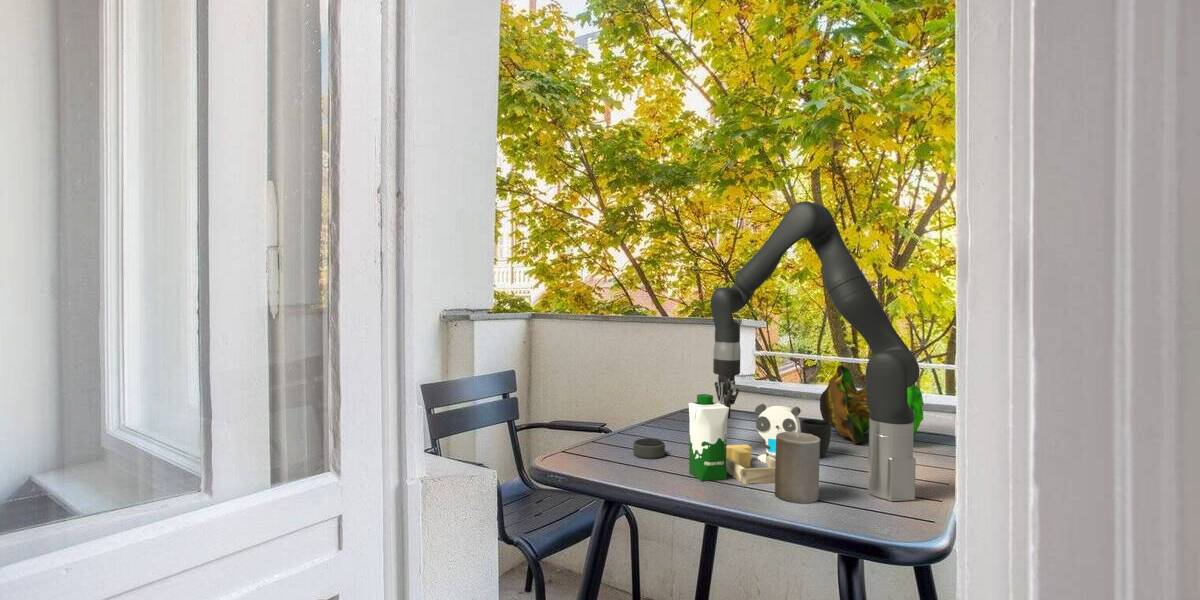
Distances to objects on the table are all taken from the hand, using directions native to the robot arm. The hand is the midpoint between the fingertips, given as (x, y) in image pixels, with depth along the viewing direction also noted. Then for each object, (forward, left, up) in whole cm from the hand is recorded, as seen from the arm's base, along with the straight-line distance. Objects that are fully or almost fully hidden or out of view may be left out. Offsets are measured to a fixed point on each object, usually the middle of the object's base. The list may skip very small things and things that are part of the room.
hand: (725, 417), depth 173 cm
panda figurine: (-8, -12, -11) cm, 18 cm away
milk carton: (-19, +12, -11) cm, 25 cm away
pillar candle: (-36, -3, -11) cm, 38 cm away
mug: (-3, -25, -11) cm, 27 cm away
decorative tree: (+9, -51, -11) cm, 53 cm away
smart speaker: (+2, +22, -11) cm, 25 cm away
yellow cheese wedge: (-10, 0, -10) cm, 14 cm away
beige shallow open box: (-21, 0, -10) cm, 23 cm away
